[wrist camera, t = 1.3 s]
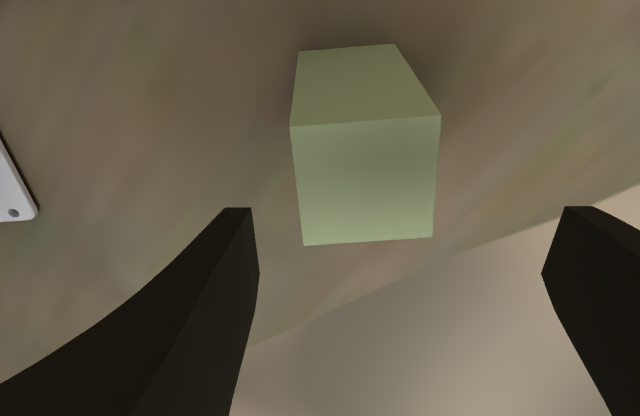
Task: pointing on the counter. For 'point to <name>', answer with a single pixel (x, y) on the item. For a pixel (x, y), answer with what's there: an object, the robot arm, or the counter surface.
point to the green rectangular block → (363, 146)
